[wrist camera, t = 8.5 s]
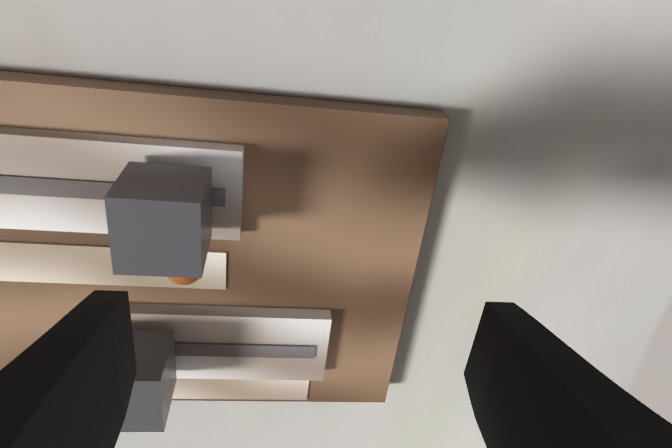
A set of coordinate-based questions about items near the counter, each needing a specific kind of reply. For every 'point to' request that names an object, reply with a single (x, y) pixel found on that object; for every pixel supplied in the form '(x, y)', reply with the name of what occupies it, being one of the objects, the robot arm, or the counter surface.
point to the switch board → (224, 228)
